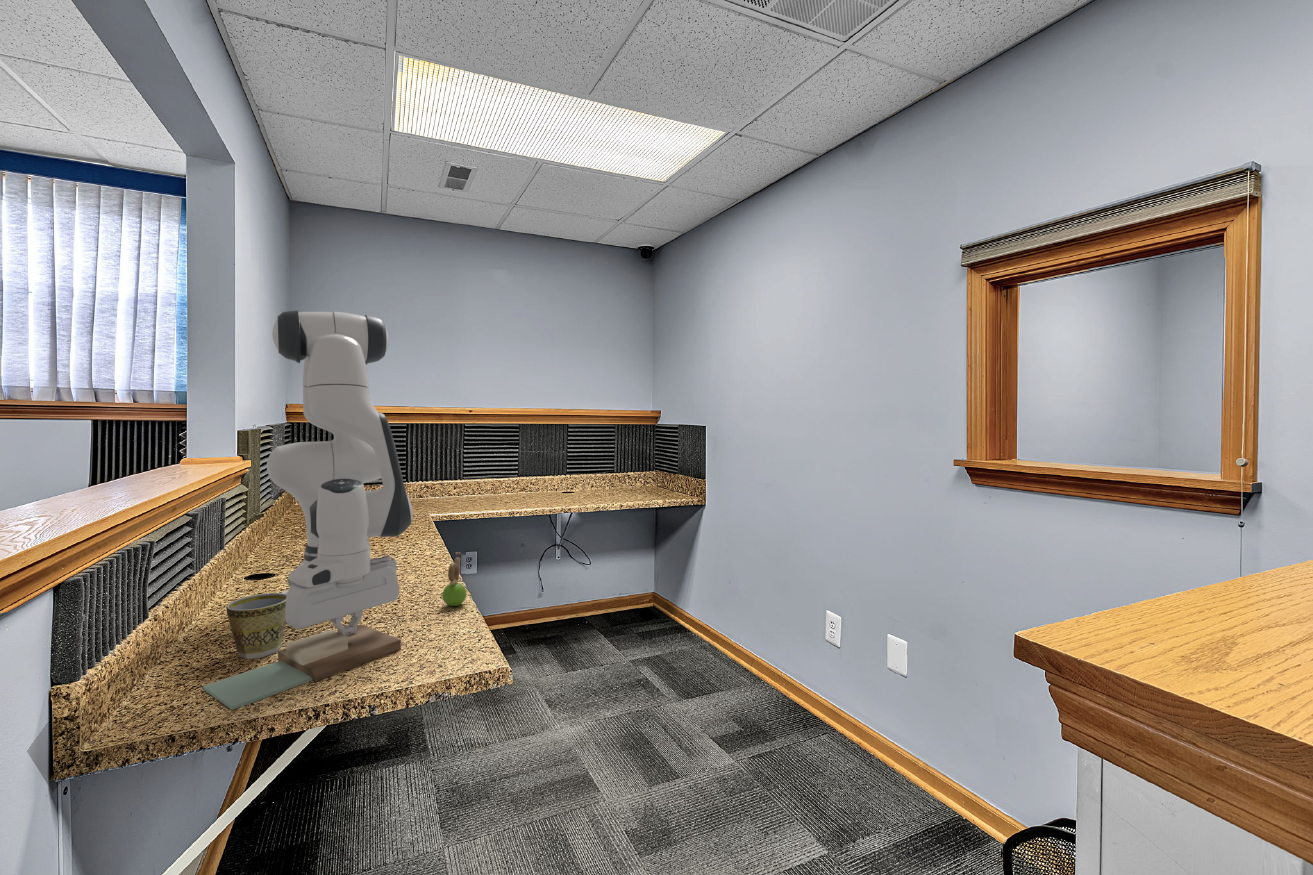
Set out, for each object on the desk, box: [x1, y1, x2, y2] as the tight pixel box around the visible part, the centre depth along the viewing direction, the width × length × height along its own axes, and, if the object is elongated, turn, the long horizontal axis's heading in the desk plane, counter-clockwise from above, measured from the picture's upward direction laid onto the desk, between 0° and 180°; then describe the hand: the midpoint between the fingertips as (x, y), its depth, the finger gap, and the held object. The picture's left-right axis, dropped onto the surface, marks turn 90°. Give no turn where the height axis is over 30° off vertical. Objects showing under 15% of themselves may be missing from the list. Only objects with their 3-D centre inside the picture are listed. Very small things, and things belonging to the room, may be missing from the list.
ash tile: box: [285, 629, 348, 665], centre depth 108 cm, size 6×8×2 cm
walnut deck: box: [277, 624, 402, 682], centre depth 112 cm, size 14×16×2 cm
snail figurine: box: [441, 551, 467, 607], centre depth 140 cm, size 5×6×12 cm
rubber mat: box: [202, 660, 313, 711], centre depth 100 cm, size 12×12×1 cm
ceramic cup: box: [225, 592, 287, 660], centre depth 115 cm, size 13×10×10 cm
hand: (347, 636), depth 113 cm, fingers closed
